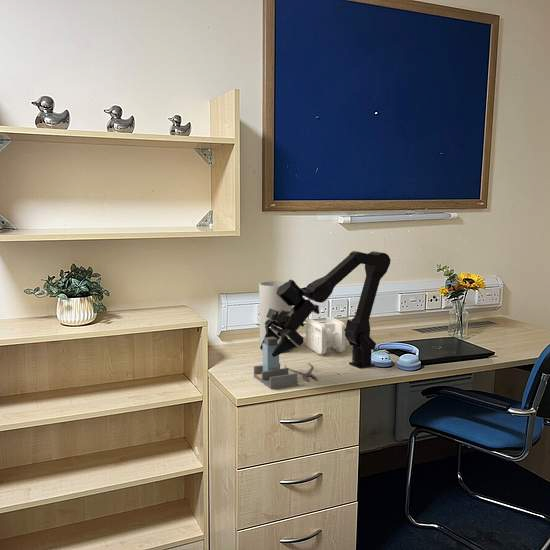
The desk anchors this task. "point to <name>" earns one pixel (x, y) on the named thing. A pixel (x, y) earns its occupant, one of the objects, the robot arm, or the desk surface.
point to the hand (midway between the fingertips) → (266, 352)
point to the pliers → (305, 375)
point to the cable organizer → (325, 335)
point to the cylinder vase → (270, 304)
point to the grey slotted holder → (275, 377)
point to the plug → (270, 354)
